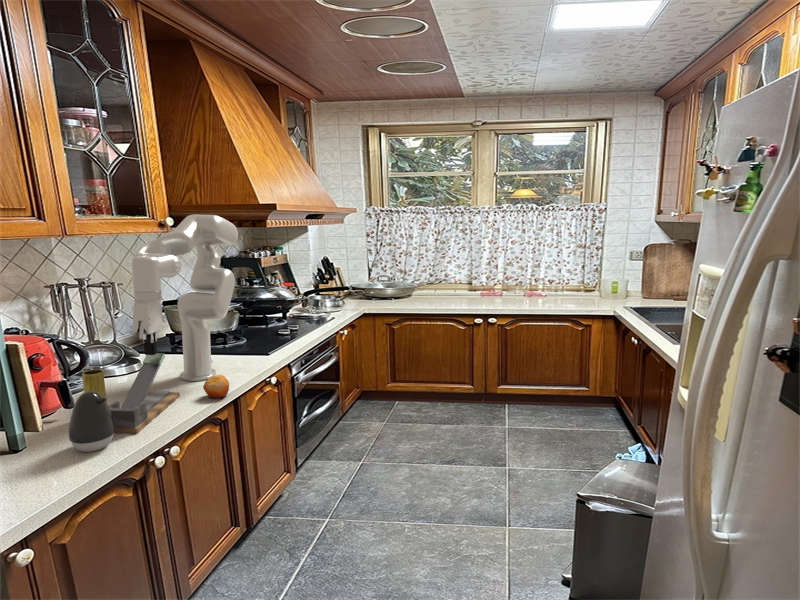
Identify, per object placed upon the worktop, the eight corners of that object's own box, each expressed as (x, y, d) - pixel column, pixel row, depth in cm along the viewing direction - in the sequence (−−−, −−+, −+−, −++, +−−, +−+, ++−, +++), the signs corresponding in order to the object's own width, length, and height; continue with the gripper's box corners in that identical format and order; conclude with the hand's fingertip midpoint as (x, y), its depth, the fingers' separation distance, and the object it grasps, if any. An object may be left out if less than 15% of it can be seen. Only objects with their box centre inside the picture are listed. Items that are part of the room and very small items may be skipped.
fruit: (234, 386, 169) (230, 371, 164) (228, 404, 163) (224, 389, 158) (210, 385, 169) (205, 370, 164) (204, 404, 163) (198, 389, 158)
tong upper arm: (147, 356, 156) (146, 353, 155) (166, 356, 156) (165, 353, 155) (116, 417, 139) (114, 414, 138) (137, 418, 139) (136, 414, 138)
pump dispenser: (93, 459, 121) (87, 401, 118) (60, 453, 123) (54, 396, 121) (126, 441, 130) (122, 387, 128) (95, 436, 133) (90, 382, 130)
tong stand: (149, 396, 162) (148, 377, 161) (179, 396, 162) (178, 378, 161) (100, 433, 135) (98, 411, 134) (137, 433, 135) (135, 411, 134)
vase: (81, 423, 141) (77, 375, 138) (88, 414, 146) (84, 369, 144) (105, 421, 142) (101, 374, 140) (111, 413, 148) (107, 367, 146)
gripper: (147, 292, 157) (150, 347, 160) (122, 300, 142) (126, 360, 145) (170, 293, 157) (173, 348, 160) (148, 300, 142) (151, 361, 145)
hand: (151, 354), depth 152 cm, fingers closed
